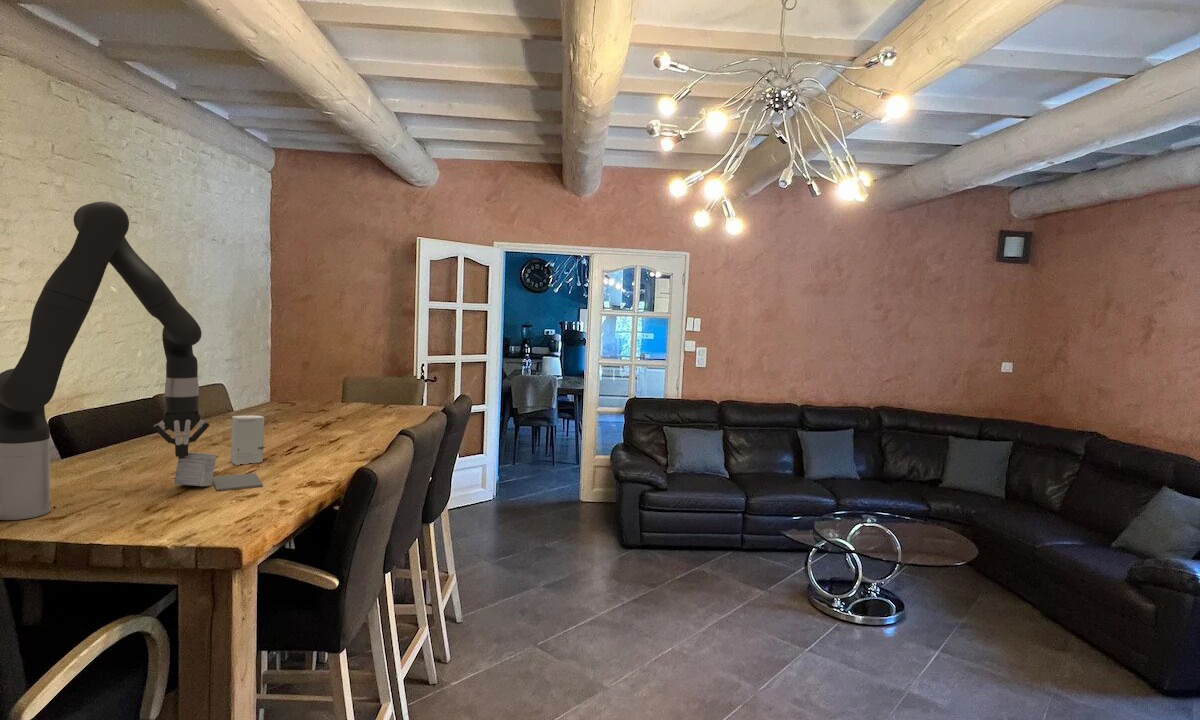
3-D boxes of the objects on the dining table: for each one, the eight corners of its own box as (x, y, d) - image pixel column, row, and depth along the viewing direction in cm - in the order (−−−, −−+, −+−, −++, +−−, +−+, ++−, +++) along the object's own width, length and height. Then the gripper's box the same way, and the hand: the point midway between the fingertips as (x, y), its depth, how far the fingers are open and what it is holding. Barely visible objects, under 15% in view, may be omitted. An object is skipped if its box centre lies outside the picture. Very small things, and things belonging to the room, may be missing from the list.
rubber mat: (216, 491, 168) (216, 489, 168) (211, 479, 180) (211, 477, 180) (262, 486, 175) (262, 484, 175) (255, 475, 186) (255, 473, 186)
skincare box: (234, 465, 196) (235, 418, 195) (229, 461, 200) (230, 415, 199) (264, 462, 201) (265, 416, 200) (258, 459, 206) (259, 413, 205)
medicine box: (212, 486, 173) (217, 454, 174) (200, 486, 169) (206, 453, 170) (185, 484, 174) (190, 452, 175) (173, 484, 169) (179, 451, 171)
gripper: (151, 396, 161) (151, 463, 162) (212, 394, 169) (211, 458, 170) (151, 393, 167) (151, 457, 168) (209, 391, 175) (209, 453, 176)
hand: (181, 457), depth 169 cm, fingers closed
